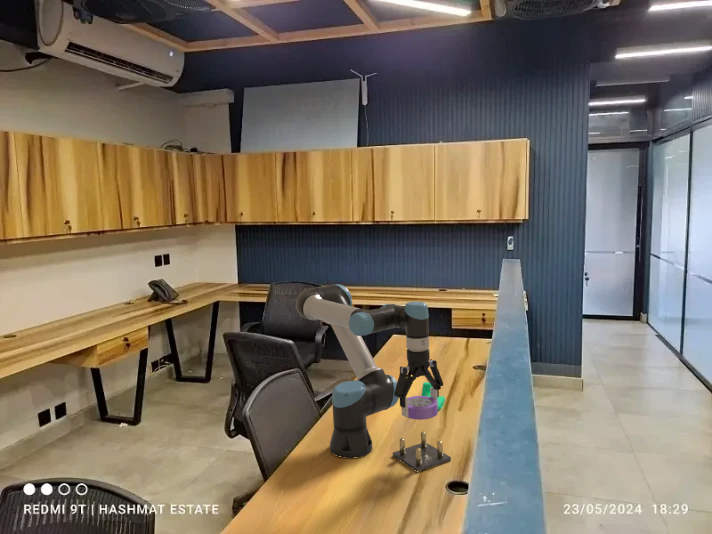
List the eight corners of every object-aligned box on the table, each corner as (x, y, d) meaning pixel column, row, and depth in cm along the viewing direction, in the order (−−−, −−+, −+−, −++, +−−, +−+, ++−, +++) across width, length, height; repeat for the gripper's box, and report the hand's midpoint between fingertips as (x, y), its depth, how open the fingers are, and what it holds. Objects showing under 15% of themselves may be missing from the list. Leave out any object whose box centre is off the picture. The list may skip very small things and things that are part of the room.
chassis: (417, 472, 171) (416, 454, 170) (392, 455, 183) (392, 438, 182) (451, 460, 178) (450, 442, 177) (425, 445, 190) (424, 428, 189)
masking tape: (417, 422, 171) (417, 411, 170) (395, 411, 181) (395, 401, 180) (445, 413, 177) (444, 402, 177) (422, 403, 187) (422, 393, 186)
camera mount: (438, 412, 219) (437, 388, 217) (420, 410, 222) (419, 387, 221) (445, 402, 230) (444, 379, 228) (428, 400, 233) (427, 378, 231)
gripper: (395, 357, 167) (397, 424, 170) (453, 344, 179) (454, 406, 182) (381, 352, 173) (384, 416, 176) (438, 340, 186) (440, 400, 188)
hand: (420, 411), depth 179 cm, fingers closed on masking tape, 12 cm apart
